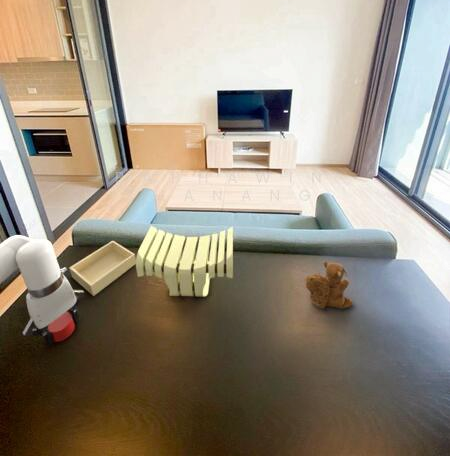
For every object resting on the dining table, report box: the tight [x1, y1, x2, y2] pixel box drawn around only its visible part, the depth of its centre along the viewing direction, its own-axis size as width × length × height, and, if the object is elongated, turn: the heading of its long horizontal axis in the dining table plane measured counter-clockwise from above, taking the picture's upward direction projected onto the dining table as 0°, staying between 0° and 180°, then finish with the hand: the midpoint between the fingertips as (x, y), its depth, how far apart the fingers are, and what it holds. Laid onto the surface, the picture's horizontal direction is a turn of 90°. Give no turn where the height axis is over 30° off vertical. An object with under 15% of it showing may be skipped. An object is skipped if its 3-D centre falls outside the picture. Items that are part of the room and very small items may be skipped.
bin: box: [69, 240, 136, 297], centre depth 92 cm, size 14×17×5 cm
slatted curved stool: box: [135, 225, 234, 297], centre depth 84 cm, size 30×16×18 cm, turn 88°
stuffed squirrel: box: [304, 260, 353, 310], centre depth 78 cm, size 10×14×13 cm
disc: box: [48, 311, 76, 343], centre depth 71 cm, size 6×6×4 cm
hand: (62, 329), depth 71 cm, fingers closed on disc, 6 cm apart
